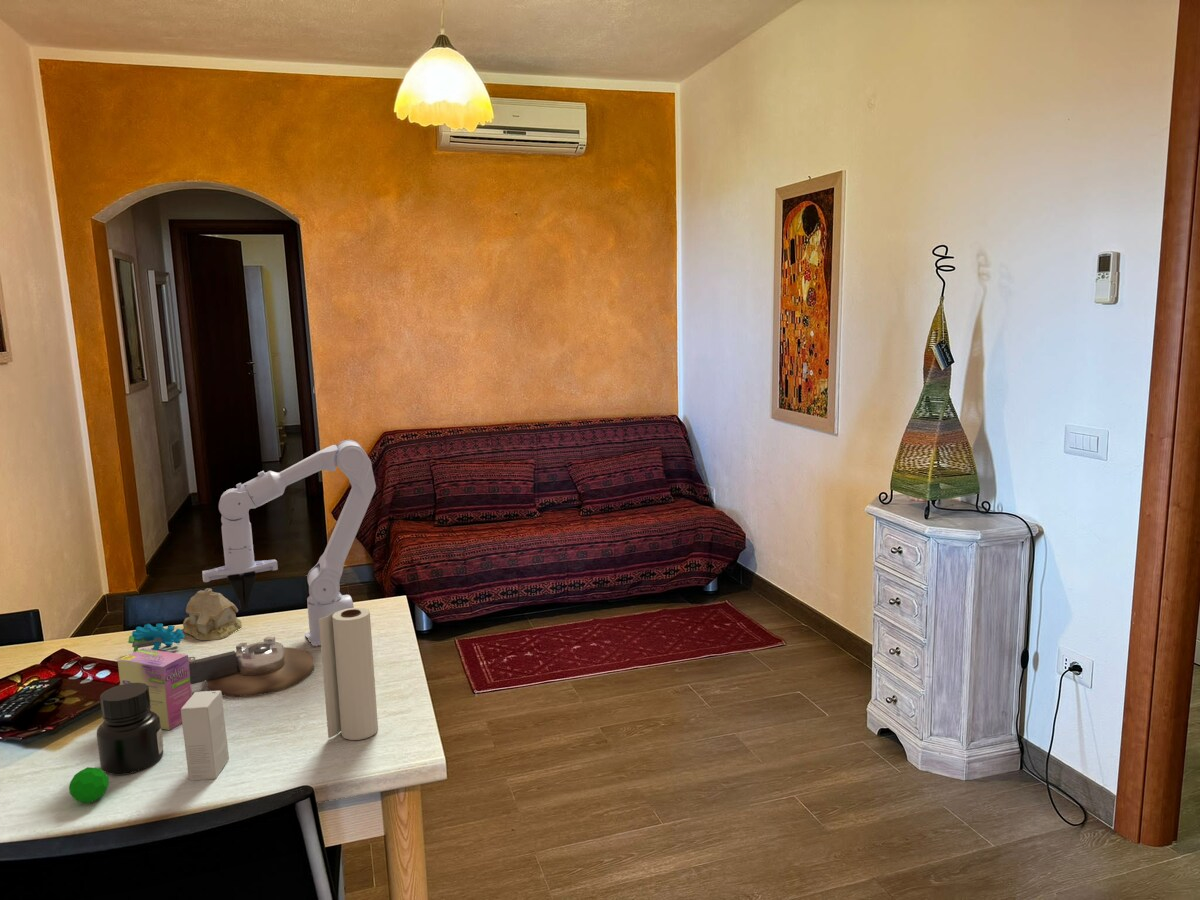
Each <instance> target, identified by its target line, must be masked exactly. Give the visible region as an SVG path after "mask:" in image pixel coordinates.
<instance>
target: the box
mask: <svg viewBox="0 0 1200 900" xmlns="http://www.w3.org/2000/svg"><path fill="white" fill-rule="evenodd" d="M188 657H189V655H188V654H182V653H176V652H170V651H164V650H163V651H162V650H158V651H157V650H153V649H150V648H140V649H138V651H136V652H134V653H133V652H132V653H129V654H128V655H125V656H123V657H121V658H118V660H117V665H118V666H117V667H118V674H119V675H118V677H119V685H122V684H128V683H145V684H146V685H148V687H149V695H150V705H151V708H150V710H151V711H152V712H154V713H156V714H157V715H158V716H159V719H160V725H161V730H162V729H163V730H166V731H171V730H173V729H174V728H177V727H178V726H180V725H181V724H182V717H181V708H182V707H183V706H184V705H185V703H186V702H187V701H188V700H189V699H190V698H191V696H192V695H193V694H192V684H191V683H190V671H189V660H188Z"/></svg>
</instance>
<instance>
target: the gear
mask: <svg viewBox="0 0 1200 900" xmlns="http://www.w3.org/2000/svg"><path fill="white" fill-rule="evenodd" d="M163 626H164V624H163V623H156V624H155V626H153V625H151V623H146V624H144V625H143V627H142V626H136V627H135V630H133V631H132V632H131V635H129V638H128V641H127V642H128V644H132V645H131V647H132V648H133V650H132V653H134V652H136V651H138V650H139V649H142V648H146V647H147V648H148V647H151V646H152V650H157V651H160V650H159V649H160V647H161V646H162V644H164V645H165V646H166V647H172V646H173V643H174V644H177V645H178V644H180V643H181V640H184V639H185V634H184V629H181V628H175V625H172V624H171V625H170V624H169V625H167V628H164V627H163Z"/></svg>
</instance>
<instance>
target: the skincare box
mask: <svg viewBox="0 0 1200 900" xmlns="http://www.w3.org/2000/svg"><path fill="white" fill-rule="evenodd" d="M191 695H192V696H191V698H190V699H189V700H188V701H187V702H186V703H185V705H184V706H183V707H182V708H181V717H182V732H183V733H182V734H183V742H184V748H185V757H186V759H185V760H186V766H187V772H188V773H187V774H188V775H187V776H188V779H189V780H188V781H191V782H192V781H204V780H205V781H206V780H217V778H218V776H219V774H220V773H221V771H222V770H223V769H224V768H225V765H226V764H227V763H228V761H229V760H230V756H229V755H230V753H229V746H228V738H227V737H228V736H227V731H226V730H227V729H226V720H225V713H224V712H225V710H224V701H223V695H222V692H221V691H210V690H208V691H207V690H205V691H194V693H192V694H191Z"/></svg>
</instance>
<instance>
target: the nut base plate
mask: <svg viewBox="0 0 1200 900" xmlns="http://www.w3.org/2000/svg"><path fill="white" fill-rule="evenodd" d="M283 647H284V658H285V664H284V665H283V666H282V667H281V668H279V669H278V670H275V671H273V672H270V673H266V674H262V675H252V676H250V675H242V674H239V673H235V674H231V675H227V676H223V677H219V678H215V679H211V680H207V681H205V682H206V687H207V689H208V691H221V692H222V696H225V697H251V696H260V695H265V694H270V693H275V692H278V691H281V690H283V689H287V688H289V687H293V686H294V684H295V685H296V684H299V683H301V682H302V681H304V680H305V679H307V678H308V677H309V676H311V674H312V673H313V672H312V671H314V669H315V659H314V655H312V653H310V652H308V651H307V650H306V649H301V648H296V647H286V646H283ZM300 681H301V682H300Z"/></svg>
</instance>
